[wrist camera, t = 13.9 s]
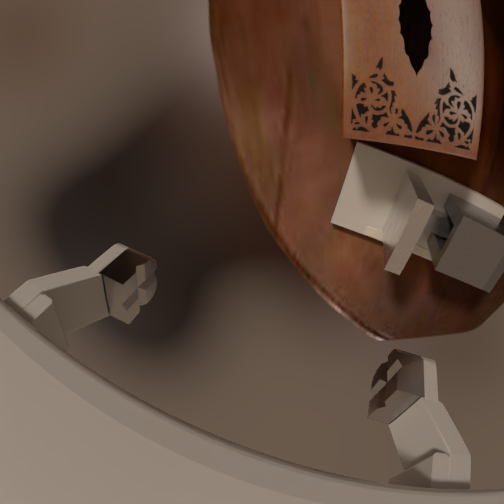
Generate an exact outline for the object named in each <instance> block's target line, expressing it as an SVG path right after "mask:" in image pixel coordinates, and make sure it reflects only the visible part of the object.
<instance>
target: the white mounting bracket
mask: <svg viewBox="0 0 504 504" xmlns="http://www.w3.org/2000/svg"><path fill="white" fill-rule="evenodd" d="M434 207H435V205H434V203H433V201H432V199H431V197H430V195H429V193H428V191H427V189H426V187H425V185H424V183H423V181H422V179H421V177H420V176H418V175H416V174H414V173H411V172H409V171H407V170H406V172H405V175H404V178H403V180H402V183H401V185H400V188H399V190H398V193H397V195H396V198H395V200H394V202H393V205H392V207H391V210H390V212H389V214H388V217H387V219H386V221H385V223H384V226H383V228H382V235H383V254H384V270H387V271H390V272H392V273H395V274H398V275H400V274H401V272H402V270H403V268H404V266H405V264H406V263H407V261H408V259H409V257H410V255H411V253H412V251H413V249H414V248H415V246H416V244H417V242H418V240H419V238H420V236H421V234H422V232H423V230H424V229H425V230H428V231H430V232H432V233H435V234H437V235H439V236H442V237H444V238H446V239H447V238H448V237H449V235H450V233H451V231H452V229H453V227H454V224H453V222H452V220H451V219H450V217H449V215H447V214H445V213H443V212H441V211H439V210H437V209H434Z"/></svg>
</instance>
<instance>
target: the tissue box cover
mask: <svg viewBox="0 0 504 504" xmlns="http://www.w3.org/2000/svg"><path fill="white" fill-rule="evenodd" d="M340 14H341V35H342V134H341V138H348V139H357V140H366V141H374V142H381V143H388V144H395V145H402V146H408V147H414V148H420V149H425V150H431V151H436V152H441V153H446V154H451V155H456V156H460V157H465V158H469V159H473V160H476V159H477V153H478V146H479V138H480V130H481V120H482V108H483V92H484V37H483V22H482V11H481V2H480V0H340Z"/></svg>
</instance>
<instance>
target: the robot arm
mask: <svg viewBox="0 0 504 504" xmlns="http://www.w3.org/2000/svg"><path fill="white" fill-rule="evenodd" d="M155 269H156V261H155V260H154V259H153V258H151V257H148V256H146V255H144V254H142V253H139V252H137V251H135V250H133V249H131V248H128V247H126V246H124V245H122V244H120V243H119V244H115V245H114V246H112V247H111V248H110V249H109V250H108V251H106V252H105V253H104V254H103V255H101V256H100V257H99V258H98V259H97V260H95V261H94V262H93V263H92V264H91V265H90V266H88V267H86V266H81V267H78V268H73V269H70V270H66V271H62V272H58V273H54V274H50V275H46V276H43V277H39V278H35V279H32V280H28V281H26V282H25V283H24V284H23V285H22V286H20V287H19V288H18V289H17V290H16V291H15V292H13V293H12V294H11V295H10V296H9V297H8V298H7V299H6V300H5V301H3V300H2V299H1V298H0V504H504V489H482V490H481V489H480V490H470V473H471V455H470V453H469V451H468V449H467V447H466V445H465V444H464V442H463V440H462V438H461V436H460V434H459V432H458V431H457V429H456V427H455V425H454V423H453V422H452V420H451V418H450V416H449V414H448V413H447V411H446V409H445V407H444V406H443V404H442V403H441V402H439V401H438V388H437V373H436V363H435V361H434V360H431V359H428V358H425V357H420V356H418V355H414V354H411V353H408V352H405V351H401V350H398V349H394V350H392V351H391V353H390V354H389V355H388V361H387V362H385V363H382V364H381V365H380V366H379V368H378V369H377V371H376V373H375V375H374V377H373V381H372V386H371V391H372V393H373V395H374V397H373V398H372V399H371V400H370V401H369V410H368V417H367V418H369V419H372V420H376V421H380V422H383V423H387V424H390V425H389V427H390V430H391V433H392V436H393V439H394V442H395V444H396V448H397V450H398V453H399V456H400V460H401V463H402V466H403V469H404V471H403V472H401V473H399V474H397V475H395V476H393V477H392V478H390V479H389V483H381V482H375V481H369V480H364V479H358V478H353V477H348V476H344V475H339V474H335V473H330V472H326V471H322V470H318V469H314V468H311V467H307V466H303V465H300V464H296V463H293V462H289V461H286V460H283V459H280V458H277V457H273V456H270V455H267V454H264V453H262V452H259V451H256V450H253V449H250V448H248V447H245V446H242V445H240V444H237V443H234V442H232V441H229V440H227V439H224V438H222V437H219V436H217V435H214V434H212V433H210V432H208V431H205V430H203V429H201V428H198V427H196V426H194V425H192V424H190V423H188V422H185V421H183V420H181V419H179V418H177V417H175V416H173V415H171V414H169V413H167V412H165V411H163V410H161V409H159V408H157V407H155V406H153V405H152V404H150V403H148V402H146V401H144V400H142V399H140V398H139V397H137V396H135V395H133V394H132V393H130V392H128V391H126V390H124V389H123V388H121V387H120V386H118V385H116V384H115V383H113V382H111V381H110V380H108V379H106V378H105V377H103V376H102V375H100V374H99V373H97V372H95V371H94V370H92V369H91V368H89V367H88V366H86V365H85V364H83V363H82V362H80V361H79V360H77V359H76V358H74V357H73V356H72V355H70V354H69V353H67V351H68V350H69V343H68V341H67V338H66V336H65V334H67V333H70V332H72V331H75V330H77V329H79V328H82V327H84V326H86V325H89V324H91V323H93V322H95V321H98V320H100V319H102V318H104V317H107V316H109V314H110V315H112V316H113V317H115V318H117V319H119V320H121V321H123V322H125V323H127V324H129V323H130V322H131V321H132V320H133V319H134V318H135V316H136V315H137V314H138V313H139V311H140V305H144V304H147V303H148V302H149V300H150V299H151V298H152V296H153V294H154V292H155V288H156V277H155V276H154V274H153V271H154V270H155Z"/></svg>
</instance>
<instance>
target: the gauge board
mask: <svg viewBox="0 0 504 504" xmlns="http://www.w3.org/2000/svg"><path fill="white" fill-rule="evenodd" d="M406 170H407V171H409V172H411V173H414V174H416V175H418V176H420V177H421V179H422V181H423V183H424V185H425V187H426V189H427V191H428V193H429V195H430V197H431V199H432V201H433V203H434V205H435V207H434V209H437V210H439V211H441V212H443V213H445V214H447V215H448V213H447V211H446V209H445V207H444V205H445V202H446V200H447V198H448V196H449V193H451V194H453V195H455V196H457V197H459V198H461V199H463V200H465V201H467V202H469V203H471V204H473V205H475V206H477V207H479V208H481V209H483V210H485V211H487V212H489V213H491V214H493V215H494V216H496V217H498V218H500V219H502V217H503V215H504V207H503V206H502V205H500V204H498V203H496V202H495V201H493V200H491V199H489V198H487V197H485V196H484V195H482V194H480V193H478V192H476V191H474V190H472V189H470V188H468V187H466V186H464V185H462V184H460V183H458V182H456V181H454V180H452V179H450V178H448V177H446V176H444V175H441V174H439V173H437V172H435V171H433V170H430V169H428V168H426V167H424V166H421V165H419V164H417V163H414V162H412V161H410V160H407V159H405V158H402V157H400V156H397V155H395V154H392V153H390V152H387V151H385V150H382V149H379V148H377V147H374V146H371V145H368V144H366V143H363V142H360V141H357V143H356V146H355V150H354V153H353V156H352V159H351V162H350V165H349V169H348V172H347V175H346V178H345V181H344V184H343V187H342V190H341V193H340V196H339V199H338V202H337V205H336V208H335V211H334V213H333V216H332V219H331V223H333V224H336V225H339V226H342V227H344V228H347V229H350V230H353V231H355V232H358V233H361V234H364V235H366V236H369V237H372V238H374V239H377V240H380V241H382V242H383V235H382V228H383V226H384V223H385V221H386V219H387V217H388V214H389V212H390V210H391V207H392V205H393V202H394V200H395V198H396V195H397V193H398V190H399V188H400V185H401V183H402V180H403V178H404V175H405V172H406ZM430 234H431V232H430V231H428V230H425V229H424V230H423V232H422V234H421V236H420V238H419V240H418V242H417V244H416V246H415V248H414V249H413V251H412V253H413V254H416V255H418V256H421V257H423V258H425V259H428V260H430V261H432V258H431V254H430V251H429V247H428V244H427V240H428V238H429V236H430Z"/></svg>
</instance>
